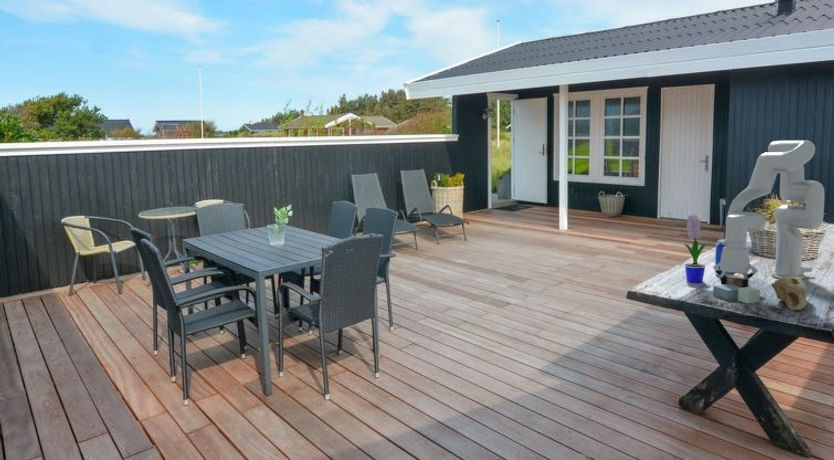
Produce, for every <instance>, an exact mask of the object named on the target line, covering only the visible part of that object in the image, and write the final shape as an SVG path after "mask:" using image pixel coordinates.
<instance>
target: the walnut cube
mask: <svg viewBox="0 0 834 460" xmlns="http://www.w3.org/2000/svg"><path fill="white" fill-rule="evenodd" d="M743 280H744V277H743V276H740V275H736V274H735V275H734V276H725V284H733V285H736V286H739V287H742V288H743Z"/></svg>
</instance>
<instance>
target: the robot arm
mask: <svg viewBox="0 0 834 460" xmlns="http://www.w3.org/2000/svg"><path fill="white" fill-rule="evenodd" d="M815 152H816V146H815V144H814V143H813V142H812V141H810V140H807V139H805V140H803V139H802V140H801V139H799V140H798V139H793V140H789V139H787V140H785V139H784V140H775V141H772V142H769V144H768V147H767V152H764V153H762V154H759V156H758V158H757V159H756V163H755V166H754V169H753V172H752V174H751V178H750V179H749V182H748V183H749V184H748V185H747V187H746V188H745V189H743V190H742V191H741V192H740V193H739V194H737V196H736V197H735V198H734V199H733V200H732V201H731V203H730V206H729V209H728V212H727V215H726V218H725V238H724V239H725V241H722V242H721V244H722V245H724V246H725V247H724V248H723V250H722V254H721V262H720V263H718V264H716V265H715V264H714V265H713V266H712V269H714V272H715V271H716V272H717V273H718V274H719V275H720V276H719V277H720V285H724V284H725V274H726V272H728V273H736V274H741V275H742V277H743V278H744V280H743V288H744V287H749V279H750V278H752V277H753V276H754V275H755V274H756V273H758V271H759V270H758V269H757V268H756V267H755V266H754V265H752V264H751V263H750V253H749V251H750V250H749V248H748V247H747V238H748V237H747V236H748V234H747V233H748V232H759V231H761V230H763V229H764V228H765V226H766V224H767V220H766V217H765V216H764V215H763V214H761V213H757V212H750V211H749V212H748V211H743V210H744V208H745V207H746V205H747V204H748V203H750V202H751V201H753V200H756V199H757V198H761V197H764V196H766V195H768V194H770V193H772V190H773V187H774V186H775V182H776V179H777V176H778V174H780V175H779V177H780V178H779V179H780V181H779V196H780V199H781V200H782V201H784V202H788V203H789V202H790V203H799V205H798V204H797V205H796V204H784V205H780V206H779V207H778V208H777V209H776V210H775V212H774V220H775V226H776V240H775V241H776V245H775V262H774V264H775V265H774V271H773V270H772V271H771V272H770V276H771V277H773V278H774V279H775V278H776V279H779V278H781V277H792V276H793V277H800V278H801V279H802V280H803V279H805V278H806V275H805V273H812V272H813V268H812V267H811V266H810V267H805V266H802V258H803V242H804V241H803V240H804V239H803V234H802V232H801V230H800V229H805V230H806V229H807V230H817V229H818V228H819V229H820V227H821V226H822V224H823V221H824V216H825V215H824V211H825V188H824V186H823V184H822V183H821V182H820V181H816V180H812V179H811V180H810V179H809V180H806V179H805V167H804V165H806V163H808V162H809V161H811V159H813V157H814V155H815ZM801 204H805V205H801ZM719 266H720V270H719V268H718V267H719ZM750 270H751V272H750V273H748V272H749V271H750Z"/></svg>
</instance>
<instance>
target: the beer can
mask: <svg viewBox="0 0 834 460" xmlns="http://www.w3.org/2000/svg"><path fill="white" fill-rule="evenodd" d="M722 241H725V238H720V239H717V242H716V244H715V252H714V253H715V256H714V266H715V265H716V264H718V263H720V262H721V254H722V250H723V248H724V247H725V246H724V245H722V244H721V242H722ZM718 268H719V270H720V266H719V267H718ZM714 273H715V274H716V275H717V276H719V277H720V275H719V274H718V273H717V272H716V271H715V270H714ZM736 274H737V273H728V272H726V274H725V276H735V275H736Z"/></svg>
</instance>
